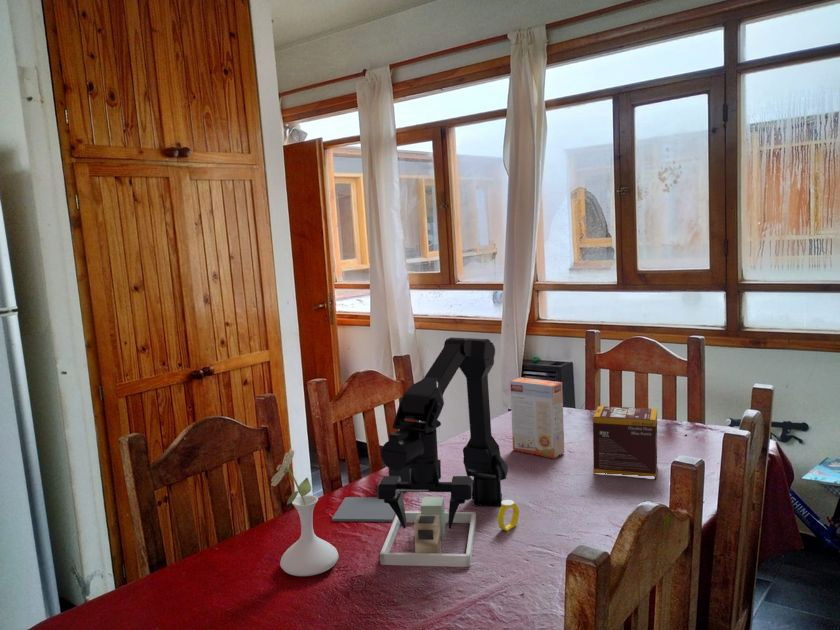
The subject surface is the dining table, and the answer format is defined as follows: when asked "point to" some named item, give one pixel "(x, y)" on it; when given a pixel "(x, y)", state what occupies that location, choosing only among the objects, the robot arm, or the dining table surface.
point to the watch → (505, 505)
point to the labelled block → (427, 534)
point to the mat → (364, 510)
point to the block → (434, 510)
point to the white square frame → (429, 558)
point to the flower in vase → (304, 532)
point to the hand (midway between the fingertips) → (427, 528)
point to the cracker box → (537, 417)
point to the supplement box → (625, 441)
